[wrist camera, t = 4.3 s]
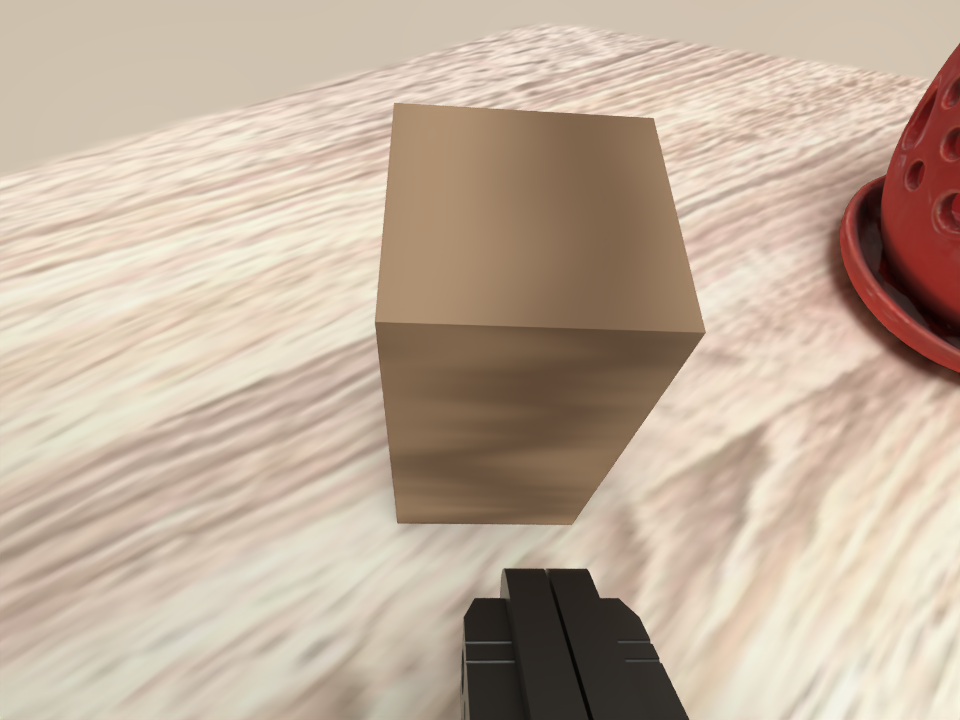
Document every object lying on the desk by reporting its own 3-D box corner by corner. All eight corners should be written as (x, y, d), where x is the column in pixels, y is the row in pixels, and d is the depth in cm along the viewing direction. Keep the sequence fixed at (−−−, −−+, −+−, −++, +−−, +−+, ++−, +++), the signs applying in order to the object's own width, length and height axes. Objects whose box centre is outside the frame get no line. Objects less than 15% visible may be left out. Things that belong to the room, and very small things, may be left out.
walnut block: (397, 523, 21) (374, 321, 11) (405, 370, 24) (394, 103, 14) (571, 524, 22) (705, 332, 11) (557, 374, 25) (653, 118, 15)
